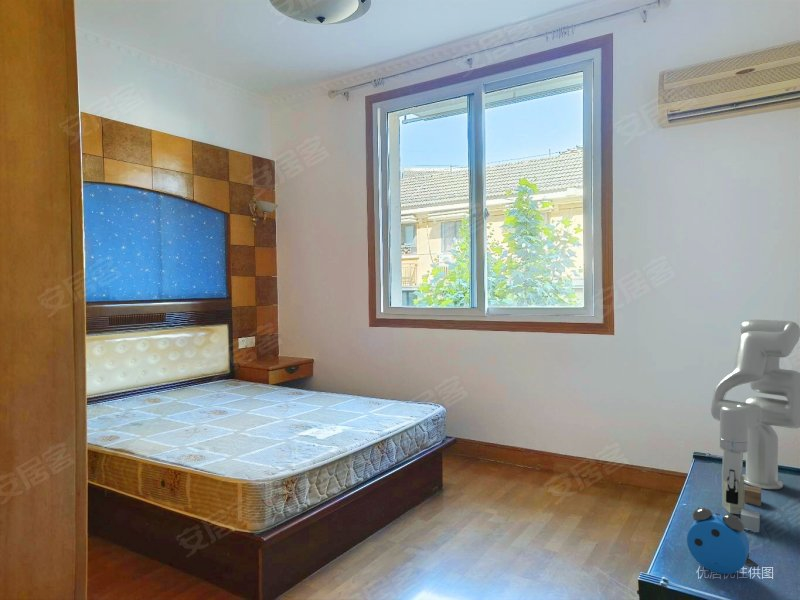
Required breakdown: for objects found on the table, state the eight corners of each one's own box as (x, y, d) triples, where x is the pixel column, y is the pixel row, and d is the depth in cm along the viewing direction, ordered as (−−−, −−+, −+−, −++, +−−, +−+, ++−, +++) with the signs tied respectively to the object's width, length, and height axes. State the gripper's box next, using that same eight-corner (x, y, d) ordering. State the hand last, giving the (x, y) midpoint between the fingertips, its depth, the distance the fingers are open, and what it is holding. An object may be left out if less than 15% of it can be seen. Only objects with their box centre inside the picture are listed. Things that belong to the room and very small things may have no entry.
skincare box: (744, 515, 161) (745, 477, 160) (729, 513, 162) (729, 476, 161) (735, 506, 167) (736, 470, 166) (721, 505, 168) (721, 469, 167)
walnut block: (744, 498, 173) (745, 485, 173) (761, 501, 170) (761, 488, 170) (744, 503, 170) (744, 489, 169) (760, 506, 167) (760, 492, 167)
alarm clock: (749, 572, 129) (749, 514, 129) (745, 583, 124) (746, 523, 124) (691, 555, 138) (691, 500, 137) (686, 564, 133) (686, 508, 132)
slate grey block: (741, 523, 156) (741, 508, 155) (759, 527, 153) (759, 512, 153) (740, 529, 152) (740, 514, 152) (759, 533, 149) (759, 518, 149)
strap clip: (726, 550, 140) (726, 535, 140) (737, 550, 140) (737, 535, 140) (747, 567, 132) (747, 551, 132) (759, 567, 132) (759, 551, 132)
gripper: (722, 436, 173) (721, 487, 173) (717, 449, 159) (716, 505, 159) (748, 439, 168) (748, 492, 169) (746, 454, 154) (745, 511, 155)
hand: (732, 498), depth 164 cm, fingers closed on skincare box, 7 cm apart
